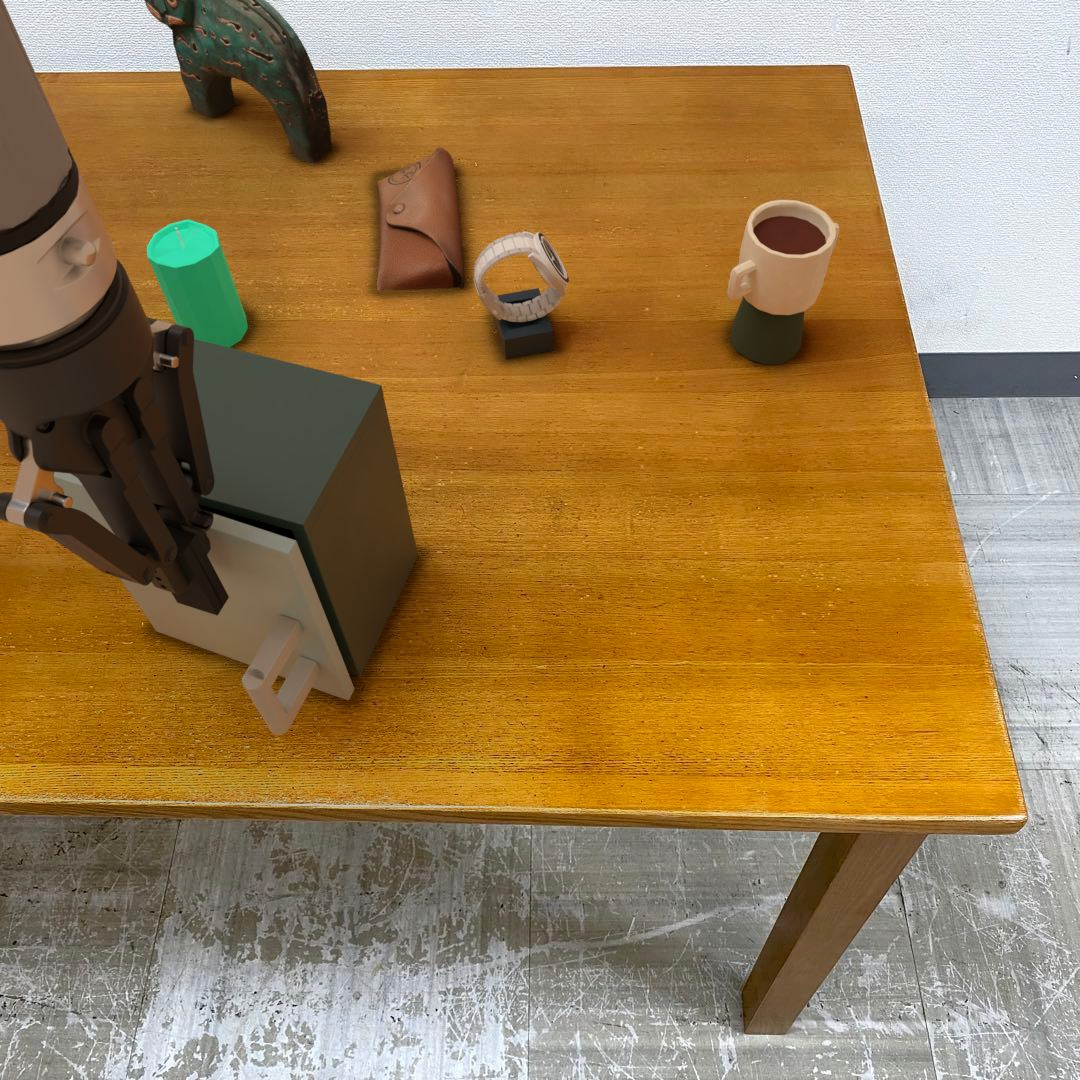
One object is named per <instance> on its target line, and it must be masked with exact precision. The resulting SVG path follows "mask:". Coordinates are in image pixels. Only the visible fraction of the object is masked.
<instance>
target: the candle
mask: <svg viewBox="0 0 1080 1080" xmlns="http://www.w3.org/2000/svg"><path fill="white" fill-rule="evenodd" d="M146 252H147V256H146V257H147V260H148V261H149V264H150V267H151V268H152V269H151V270H152V271H153V273H154V275H155V278H156V280H157V282H158V286H159V287H160V289H161V293H162V295H163V296H164V299H165V301H166V304H167V305H168V308H169V310H170V313H171V315H172V317H173V320H174V322H175V324H177V325H181V326H185V327H188V328H191V329H192V330H193V333H194V339H196V340H200V341H204V342H208V343H213V344H217V345H221V346H225V347H229V348H232V347H233V346H234V345H236V344H237V343H239V342H240V341H242V339H243V337H245V335H246V333H247V331H248V329H249V325H248V319H247V315H246V312H245V310H244V306H243V304H242V301H241V298H240V295H239V293H238V290H237V287H236V284H235V281H234V278H233V275H232V271H231V269H230V266H229V263H228V261H227V258H226V255H225V253H224V249H223V247H222V244H221V241H220V238H219V234H218V232H217V230H215V229H213V228H212V227H211V226H208V225H207V224H204V223H202V222H198V221H196V220H195V221H194V220H192V219H189V218H188V219H183V220H179V221H176V222H172V223H169V224H167V225H166V226H164V227H163V228H161V229H159V230H157V231H156V232H154V234H153V236H152V237H151V239H150V240H149V242H148V243H147V246H146Z"/></svg>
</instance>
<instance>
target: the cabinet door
mask: <svg viewBox="0 0 1080 1080" xmlns="http://www.w3.org/2000/svg"><path fill="white" fill-rule="evenodd" d="M54 481H55V483H56V484H57V485H58V486H60V487H61V488H62V489H63V491H64V495H66V496H69V497H71V498H72V500H73V504H72V507H71V508H74V509H77V510H80V511H82V512H84V513H86V514H87V515H89V516H90V517H92V518H93V519H94V520H96V521H97V522H98V523H100V524H101V525H102V526H104V527H105V528H106V529H108V530H109V531H110V532H112V533H113V531H112V530H111V528H110V527H109V525H108V524H107V522H106V520H105V519H104V517H103V516H102V514H101V513H100V511H99V510H98V508H97V507H96V505H95V503H94V502H93V500H92V499H91V497H90V496H89V494H88V493H87V491H86V490H85V488H84V487H83V485H82V483H81V482H80V480H79V479H78V478H77V477H75V476H74V475H72V474H70V473H60V472H54ZM213 515H214V520H213V523H212V526H211V528H210V529H209V530H208V531H206V534H207V535H206V536H208V538H209V540H210V546H211V550H210V551H209V553H208V554H207V556H208V558H209V560H210V562H211V564H212V566H213V567H214V569H215V571H216V573H217V575H218V577H219V579H220V581H221V583H222V585H223V587H224V588H225V590H226V592H227V594H228V596H229V598H228V600H227V601H226V603H225V604H224V606H223V608H222V609H221V611H220V613H219V614H218V616H217V615H214V614H211V613H208V612H205V611H202V610H199V609H195V608H192V607H189V606H186V605H183V604H180V603H177V601H176V599H175V598H174V596H173V595H172V593H171V592H169V591H166V590H162V589H159V588H157V587H155V586H154V585H153V583H152V582H151V583H150V584H149V585H146V586H144V585H141V584H138V583H134V582H131V581H128V580H125V579H122V578H119V580H120V581H121V583H122V584H123V585H124V587H125V589H126V590H127V591H128V593H129V595H130V596H131V597H132V598H133V600H134V602H135V603H136V605H138V607H139V609H140V610H141V612H142V613H143V615H144V616H145V618H146V619H147V620H148V621H149V623H150V624H151V627H153V628H154V630H155V632H156V633H160V634H162V635H165V636H167V637H171V638H173V639H175V640H179V641H182V642H184V643H188V644H190V645H193V646H195V647H199V648H201V649H204V650H207V651H209V652H213V653H215V654H218V655H221V656H223V657H226V658H228V659H231V660H234V661H236V662H237V661H238V662H240V663H243V664H246V665H248V667H247V669H246V671H245V672H244V674H243V675H242V678H241V684H242V686H243V688H244V689H245V691H246V693H247V695H248V696H249V698H250V700H251V702H252V703H253V705H254V706H255V708H256V710H257V711H258V712H259V714H260V716H261V718H262V719H263V721H264V723H265V724H266V726H267V728H268V729H269V731H270V732H271V734H273V735H276V736H282V735H284V734H286V733H287V732H288V731H289V730H290V728H291V726H292V724H293V722H294V720H295V719H296V717H297V715H298V713H299V712H300V710H301V708H302V706H303V704H304V702H305V701H306V699H307V697H308V695H309V693H310V691H311V690H312V689H315V690H318V691H320V692H323V693H325V694H328V695H331V696H335V697H337V698H340V699H342V700H345V701H349V700H350V699H351V697H352V695H353V693H354V692H355V687H354V683H353V681H352V679H351V676H350V674H348V671H347V669H346V666H345V663H344V661H343V658H342V656H341V653H340V651H339V648H338V646H337V643H336V641H335V638H334V635H333V633H332V630H331V628H330V625H329V623H328V620H327V618H326V615H325V613H324V610H323V607H322V605H321V602H320V600H319V597H318V595H317V592H316V590H315V587H314V585H313V582H312V580H311V577H310V574H309V572H308V569H307V567H306V564H305V562H304V559H303V557H302V554H301V552H300V549H299V546H298V544H297V541H296V540H293V539H290V538H287V537H284V536H281V535H278V534H275V533H272V532H269V531H266V530H262V529H259V528H256V527H253V526H250V525H247V524H244V523H241V522H238V521H235V520H232V519H229V518H226V517H223V516H220V515H217V514H214V513H213ZM113 534H114V533H113ZM114 535H115V534H114ZM278 677H281V678H284V679H285V680H284V682H283V683H282V684H281V686H280V688H279V690H278V692H277V693H276V692H275V690H274V689H273V685H274V683H275V682H276V680H277V678H278Z"/></svg>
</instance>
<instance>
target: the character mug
mask: <svg viewBox="0 0 1080 1080" xmlns="http://www.w3.org/2000/svg"><path fill="white" fill-rule="evenodd" d="M839 234H840V225H839V223H838V222H834V220H833V219H832V218H831V217H830V216H829V215H828V213H827V212H825V211H824V210H822V209H820V208H819V207H817V206H815V205H814V204H810V203H807V202H803V201H801V200H800V201H799V200H796V199H776V200H770V201H767V202H764V203H761V204H760V205H759V206H757V207H756V208H755V209H754V210H752V211H751V213H750V215H749V217H748V220H747V222H746V224H745V227H744V233H743V238H742V241H741V245H740V249H739V259H738V263H737V265H735V266H734V267H733V268H732V269H731V271H730V275H729V279H728V285H727V290H726V292H727V297H728V300H731V301H735V300H738V299H741V301H740V303H739V306H738V309H737V311H736V313H735V317H734V319H733V323H732V326H731V328H730V329H731V330H730V344H731V346H732V347H733V348H734V349H735V351H736V352H737V353H738V354H740V355H742V356H743V357H744V358H747V359H748V360H749V361H752V362H756V363H759V364H763V365H766V366H767V365H781V364H784V363H785V362H788V361H789V360H792V359H793V358H795V356H796V355H797V353H798V352H799V350H800V349H801V347H802V340H803V333H804V322H805V311H807V310H808V309H809V308H810V307H811V306H813V305H815V303H816V302H817V300H818V297H819V295H820V293H821V290H822V288H823V285H824V282H825V279H826V274H827V271H828V267H829V264H830V260H831V256H832V255H833V253H834V251H835V248H836V245H837V241H838V239H839V238H838V237H839Z"/></svg>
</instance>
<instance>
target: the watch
mask: <svg viewBox="0 0 1080 1080" xmlns="http://www.w3.org/2000/svg"><path fill="white" fill-rule="evenodd" d="M520 255H522V256H524V255H527V258H528V259H529V261H530V262H531V263H532V264H533V267H534V268H535V270H536V272H537V273H538V275H539V276H540V278H541V279H542V281H544V283H545V284H546V285H547V286H548V287H547V288H546V289H545V290H544V291H543V292H542V293H541V291H540V288H539V287H537V288H531V289H525V290H519V291H514V292H508V293H502V294H495V293H494V292H493V291H492V290H491V289H490V287H489V286H488V285H487V283H486V282H485V277H486V275H487V274H488V273H489V271H490V270H491V269H493V267H495V266H496V265H498V264H499V263H500V262H501V261H502V262H503V261H505V260H506V259H509V258H510V257H516V256H520ZM472 280H473V282H474V287H475V289H476V292H477V293H476V294H477V295H478V298H479V299H480V302H481V303H482V304H483V306H484V307H485V309H486V310H487V311H488V312H489V313H490V314H491V315H492V317H493V321H494V324H495V328H496V331H497V334H498V335H497V336H498V338H499V341H500V345H501V349H502V351H503V354H504V358H505V360H510V359H517V358H522V357H527V356H532V355H537V354H542V353H548V352H553V351H554V330H553V326H552V323H551V321H550V317H549V315H548V314H550V313H551V312H552V311H554V310H555V309H556V308H557V307H558V306H559V305H560V303H561V302H562V300H563V298H564V297H565V296H566V295H567V287H566V286H567V285H569V284H570V279H569V275H568V272H567V269H566V267H565V265H564V263H563V262H562V260H561V257H560V256H559V254H558V252H557V251H556V250H555V248H554V246H553V245H552V243H551V242H550V241H549V240H548V238H547V237H546V236H545V234H543V233H541V232H540V231H538V232H536V233H532V232H530V231H526V230H525V231H524V230H523V231H522V232H517V233H510V234H507V235H504V236H501V237H499V238H497V239H495V240H494V241H492V242H490V243H489V244H488V245H486V247H485V248H484V249H483V250H481V252H480V254H479V255H478V257H477V258H476V260H475V262H474V267H473V279H472Z"/></svg>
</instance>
